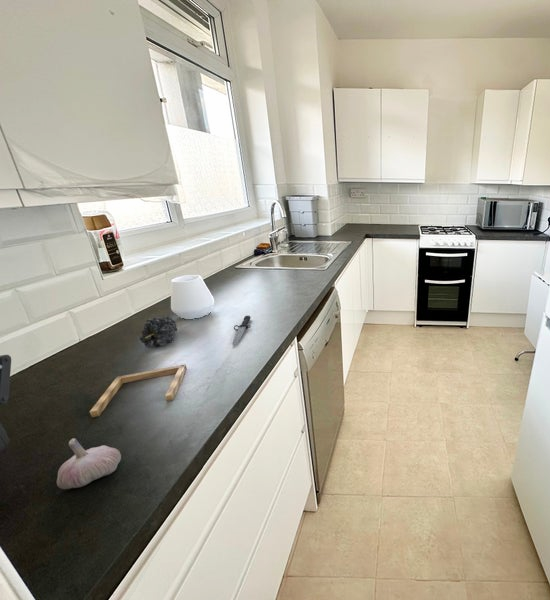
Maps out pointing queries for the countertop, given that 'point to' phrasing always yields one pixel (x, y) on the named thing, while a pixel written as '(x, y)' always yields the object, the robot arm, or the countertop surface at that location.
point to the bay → (120, 380)
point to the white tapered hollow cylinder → (190, 297)
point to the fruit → (158, 331)
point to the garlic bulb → (87, 465)
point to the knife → (241, 329)
